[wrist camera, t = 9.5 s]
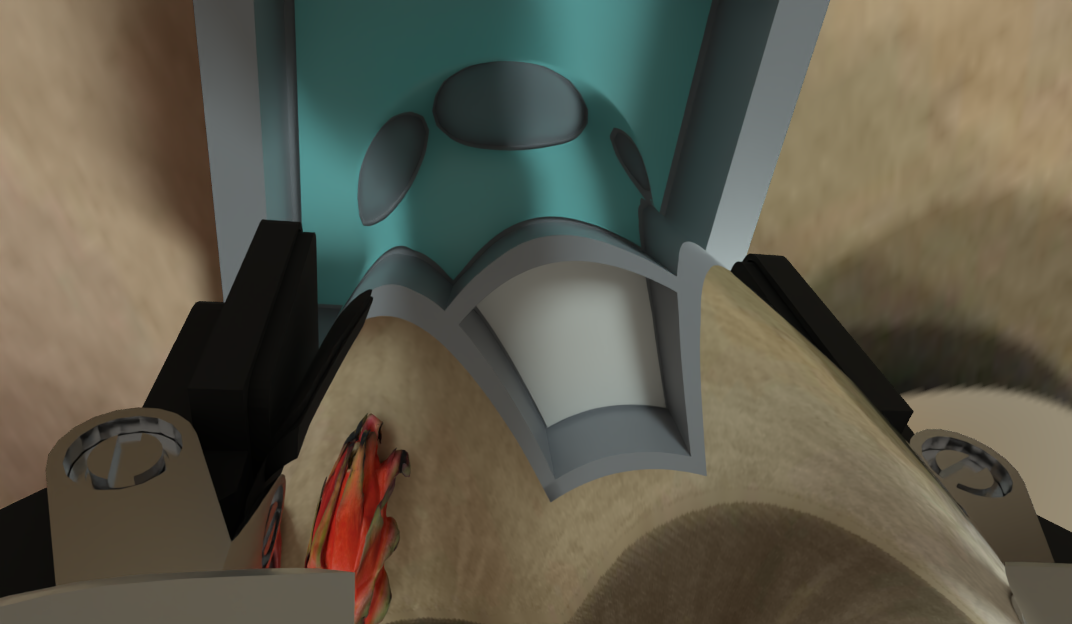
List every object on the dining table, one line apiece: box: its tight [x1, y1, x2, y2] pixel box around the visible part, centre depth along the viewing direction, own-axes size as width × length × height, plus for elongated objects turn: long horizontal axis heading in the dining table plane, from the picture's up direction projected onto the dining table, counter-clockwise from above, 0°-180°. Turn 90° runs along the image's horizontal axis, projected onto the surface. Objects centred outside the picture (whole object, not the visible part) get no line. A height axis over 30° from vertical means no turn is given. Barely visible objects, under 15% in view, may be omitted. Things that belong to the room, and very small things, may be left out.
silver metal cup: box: [222, 57, 1047, 624], centre depth 9 cm, size 7×7×15 cm
